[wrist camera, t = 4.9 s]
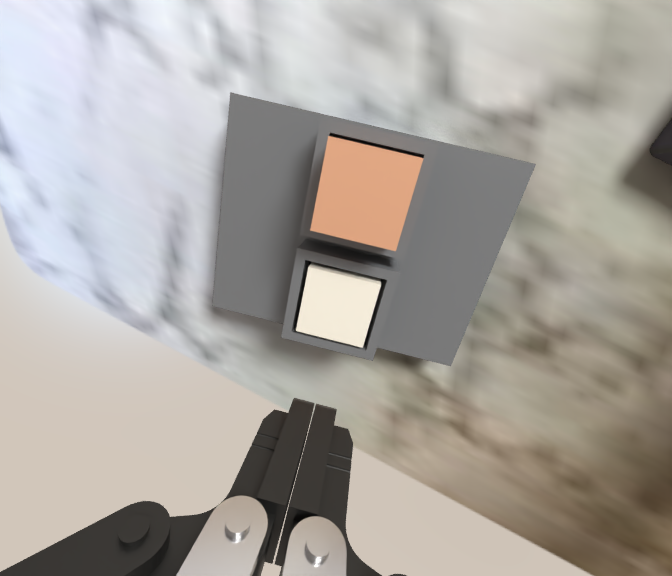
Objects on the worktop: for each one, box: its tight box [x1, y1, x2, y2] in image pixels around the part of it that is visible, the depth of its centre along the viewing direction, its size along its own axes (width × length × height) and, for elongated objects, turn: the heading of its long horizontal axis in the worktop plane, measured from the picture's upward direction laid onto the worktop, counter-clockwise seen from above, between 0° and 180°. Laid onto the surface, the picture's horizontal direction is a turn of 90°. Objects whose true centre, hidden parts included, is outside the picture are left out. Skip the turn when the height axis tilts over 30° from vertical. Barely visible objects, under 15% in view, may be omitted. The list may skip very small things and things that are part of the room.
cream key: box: [296, 262, 381, 348], centre depth 21 cm, size 4×4×2 cm
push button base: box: [212, 93, 536, 366], centre depth 21 cm, size 18×14×6 cm
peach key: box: [310, 136, 423, 251], centre depth 16 cm, size 4×4×2 cm
